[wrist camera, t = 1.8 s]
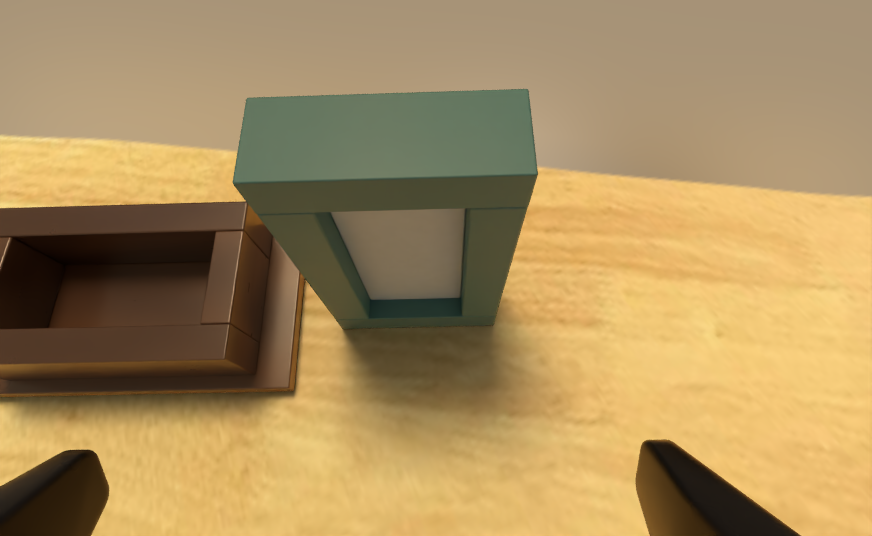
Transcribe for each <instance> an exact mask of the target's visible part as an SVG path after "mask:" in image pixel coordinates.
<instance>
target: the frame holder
mask: <svg viewBox="0 0 872 536" xmlns="http://www.w3.org/2000/svg"><path fill="white" fill-rule="evenodd" d="M303 288H304V276H303V275H302V274H301V272H300V271H299V270H298V268H297V267H296V266H295V265H294V263H293V262H292V261H291V259H290V258H289V257H288V255H287V254H286V253H285V251H284V250H283V249H282V247H281V246H280V245H279V243H278V242H277V241H276V239H275V238H274V237H273V235H272V234H271V233H270V231H269V230H268V229H267V227H266V226H265V225H264V223H263V222H262V221H261V219H260V218H259V217H258V215H257V214H256V213H255V212H254V211H253V210H252V208H251V207H250V206H249V204H248V203H247V202H212V203H176V204H140V205H104V206H68V207H32V208H0V397H28V396H77V395H126V394H175V393H224V392H273V391H293V390H294V386H295V375H296V364H297V353H298V342H299V331H300V320H301V310H302V299H303Z"/></svg>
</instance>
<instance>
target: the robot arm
mask: <svg viewBox="0 0 872 536" xmlns="http://www.w3.org/2000/svg"><path fill="white" fill-rule="evenodd" d="M636 490H637V494H638V498H639V501H640V504H641V508H642V511H643V514H644V518H645V521H646V524H647V528H648V531H649V534H650V536H801V535H799V534H798V533H797V532H795V531H794V530H792V529H791V528H790V527H788V526H787V525H786V524H784V523H783V522H782V521H780V520H779V519H777V518H776V517H775V516H773V515H772V514H771V513H769V512H768V511H767V510H765V509H764V508H762V507H761V506H760V505H758V504H757V503H756V502H754V501H753V500H752V499H750V498H749V497H747V496H746V495H745V494H743V493H742V492H741V491H739V490H738V489H737V488H735V487H734V486H732V485H731V484H730V483H728V482H727V481H726V480H724V479H723V478H721V477H720V476H719V475H717V474H716V473H715V472H713V471H712V470H711V469H709V468H708V467H706V466H705V465H704V464H702V463H701V462H700V461H698V460H697V459H696V458H694V457H693V456H691V455H690V454H689V453H687V452H686V451H685V450H683V449H682V448H681V447H679V446H678V445H676V444H675V443H674V442H672V441H670V440H646V441H644V442H643V443H642V445H641V449H640V455H639V461H638V467H637V473H636ZM108 496H109V485H108V482H107V479H106V477H105V474H104V472H103V469H102V466H101V464H100V461H99V458H98V456H97V454H96V453H95V452H93V451H91V450H68V451H64V452H62V453H60V454H58V455H56V456H54V457H53V458H51V459H49V460H47V461H45V462H44V463H42V464H40V465H38V466H36V467H35V468H33V469H31V470H29V471H27V472H26V473H24V474H22V475H20V476H18V477H17V478H15V479H13V480H11V481H9V482H8V483H6V484H4V485H2V486H0V536H91V535H92V532H93V530H94V528H95V526H96V524H97V522H98V520H99V518H100V516H101V514H102V512H103V509H104V507H105V505H106V503H107V500H108Z"/></svg>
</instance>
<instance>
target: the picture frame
mask: <svg viewBox="0 0 872 536" xmlns="http://www.w3.org/2000/svg"><path fill="white" fill-rule="evenodd" d="M537 175H538V171H537V163H536V153H535V144H534V135H533V127H532V118H531V109H530V100H529V91H528V89H511V90H480V91H449V92H417V93H385V94H354V95H325V96H324V95H322V96H294V97H293V96H291V97H259V98H247V100H246V105H245V111H244V117H243V124H242V129H241V135H240V141H239V147H238V153H237V159H236V166H235V172H234V178H233V184H234V186H235V187H236V188H237V190H238V191H239V192H240V194H241V195H242V196H243V198H244V199H245V200H246V202H247V203H248V204H249V206H250V207H251V208H252V210H253V211H254V212H255V213H256V214H257V215H258V217H259V218H260V219H261V221H262V222H263V223H264V225H265V226H266V227H267V229H268V230H269V231H270V233H271V234H272V235H273V237H274V238H275V239H276V241H277V242H278V243H279V245H280V246H281V247H282V249H283V250H284V251H285V253H286V254H287V255H288V257H289V258H290V259H291V261H292V262H293V263H294V265H295V266H296V267H297V268H298V270H299V271H300V272H301V274H302V275H303V276H304V278H305V279H306V280H307V282H308V283H309V284H310V286H311V287H312V288H313V290H314V291H315V292H316V294H317V295H318V296H319V298H320V299H321V300H322V302H323V303H324V304H325V306H326V307H327V308H328V310H329V311H330V312H331V314H332V315H333V316H334V318H335V319H336V321H337V322H338V323H339V325H340V326H341V327H342V329H359V328H403V327H447V326H491V325H494V321H495V318H496V314H497V310H498V307H499V303H500V300H501V296H502V293H503V290H504V286H505V283H506V279H507V276H508V272H509V269H510V266H511V262H512V259H513V255H514V252H515V248H516V245H517V242H518V238H519V235H520V231H521V228H522V224H523V221H524V218H525V214H526V211H527V207H528V205H529V202H530V199H531V195H532V192H533V189H534V185H535V182H536V178H537Z"/></svg>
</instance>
